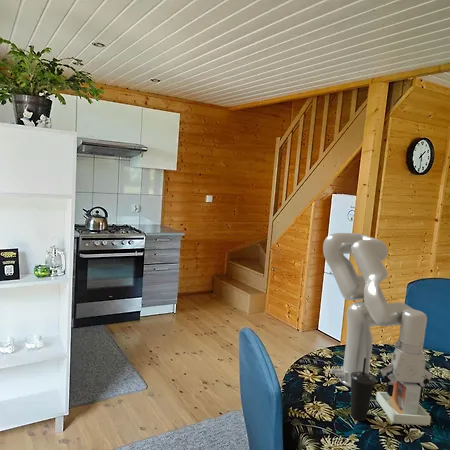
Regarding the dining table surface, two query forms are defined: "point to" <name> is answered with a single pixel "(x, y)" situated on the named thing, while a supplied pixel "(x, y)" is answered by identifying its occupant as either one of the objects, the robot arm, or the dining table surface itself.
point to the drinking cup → (361, 393)
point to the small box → (405, 397)
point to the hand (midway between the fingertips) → (403, 395)
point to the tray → (397, 418)
